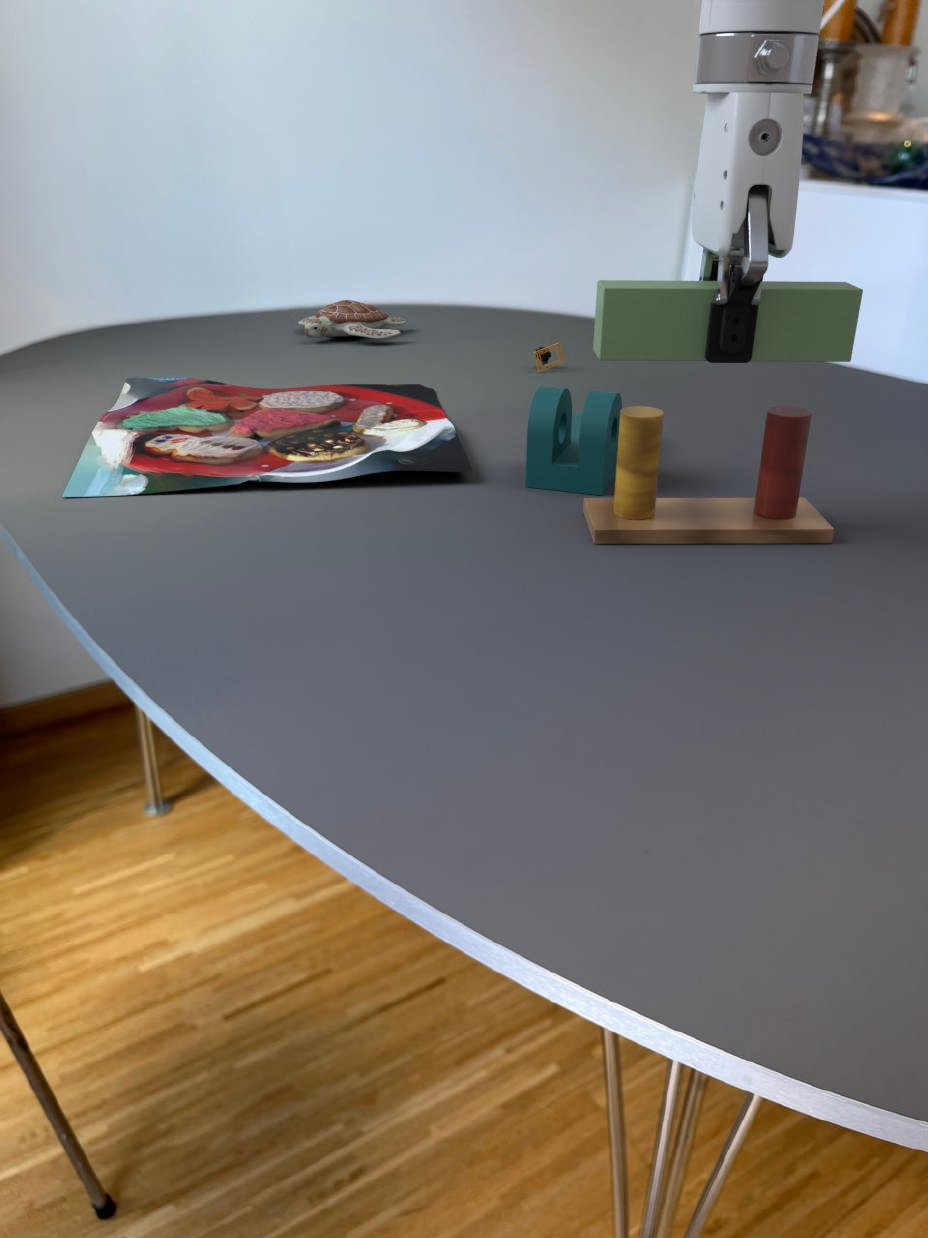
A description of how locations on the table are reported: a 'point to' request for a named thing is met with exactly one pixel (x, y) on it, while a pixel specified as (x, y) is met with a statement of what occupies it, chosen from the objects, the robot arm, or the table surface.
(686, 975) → the table surface
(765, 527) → the rods
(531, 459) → the bracket
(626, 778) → the table surface
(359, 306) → the decorative turtle
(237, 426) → the printed food placemat
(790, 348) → the bar
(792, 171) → the robot arm
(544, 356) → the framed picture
